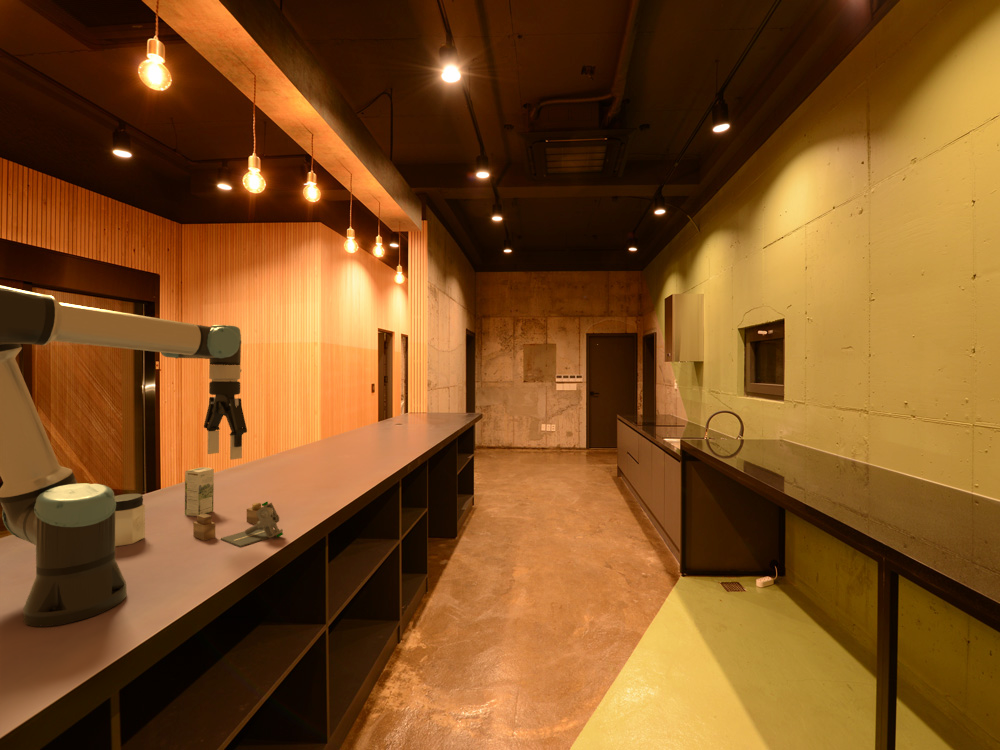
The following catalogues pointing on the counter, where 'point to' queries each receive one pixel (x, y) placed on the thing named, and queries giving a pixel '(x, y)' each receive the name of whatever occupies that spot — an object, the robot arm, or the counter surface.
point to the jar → (129, 519)
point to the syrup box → (199, 491)
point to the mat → (246, 538)
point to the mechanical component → (266, 521)
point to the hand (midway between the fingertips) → (224, 456)
